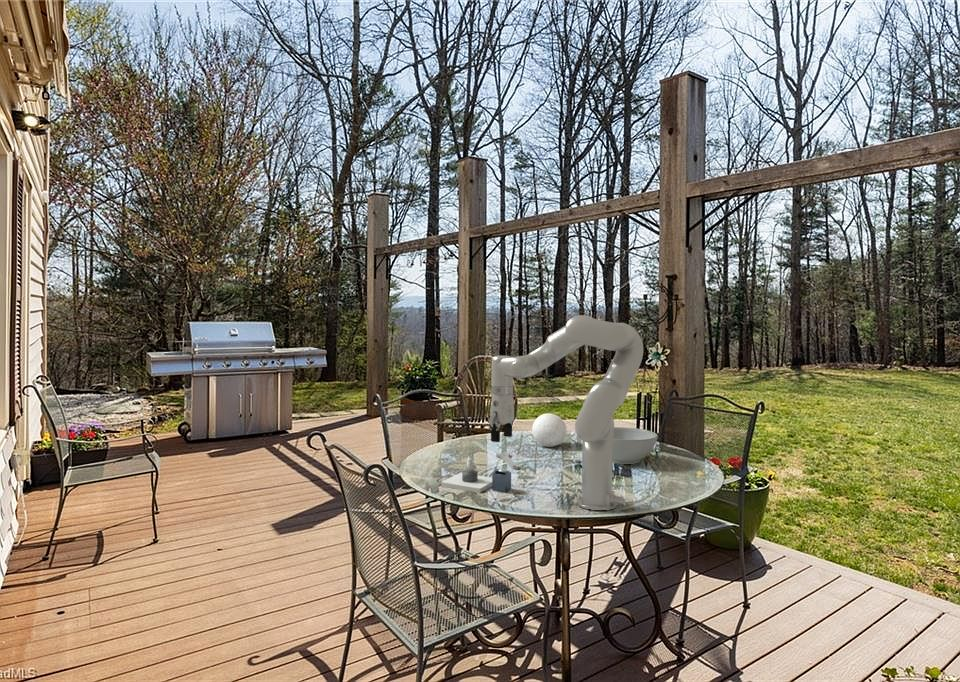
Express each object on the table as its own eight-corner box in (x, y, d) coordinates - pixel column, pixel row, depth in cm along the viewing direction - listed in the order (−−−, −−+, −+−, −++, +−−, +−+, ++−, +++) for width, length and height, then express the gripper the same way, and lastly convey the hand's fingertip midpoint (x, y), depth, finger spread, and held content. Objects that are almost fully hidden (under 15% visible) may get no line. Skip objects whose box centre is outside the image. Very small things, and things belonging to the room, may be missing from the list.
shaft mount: (498, 482, 201) (498, 456, 201) (479, 492, 189) (479, 465, 188) (460, 476, 209) (460, 451, 208) (441, 486, 196) (441, 459, 196)
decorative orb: (530, 450, 251) (531, 416, 251) (524, 442, 269) (524, 410, 268) (573, 450, 253) (573, 416, 252) (564, 441, 270) (564, 409, 270)
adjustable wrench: (519, 470, 219) (519, 466, 219) (503, 471, 218) (503, 466, 218) (508, 455, 244) (508, 451, 244) (494, 455, 243) (494, 451, 243)
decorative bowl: (580, 460, 234) (580, 432, 234) (616, 450, 252) (616, 424, 252) (634, 473, 214) (634, 442, 214) (669, 462, 232) (670, 433, 232)
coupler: (511, 488, 193) (511, 469, 193) (504, 492, 189) (505, 473, 189) (498, 486, 196) (498, 467, 196) (492, 490, 191) (492, 471, 191)
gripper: (500, 394, 182) (500, 445, 182) (521, 388, 197) (521, 435, 198) (480, 392, 185) (480, 442, 186) (503, 387, 201) (503, 433, 201)
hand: (501, 439), depth 192 cm, fingers open, 9 cm apart
